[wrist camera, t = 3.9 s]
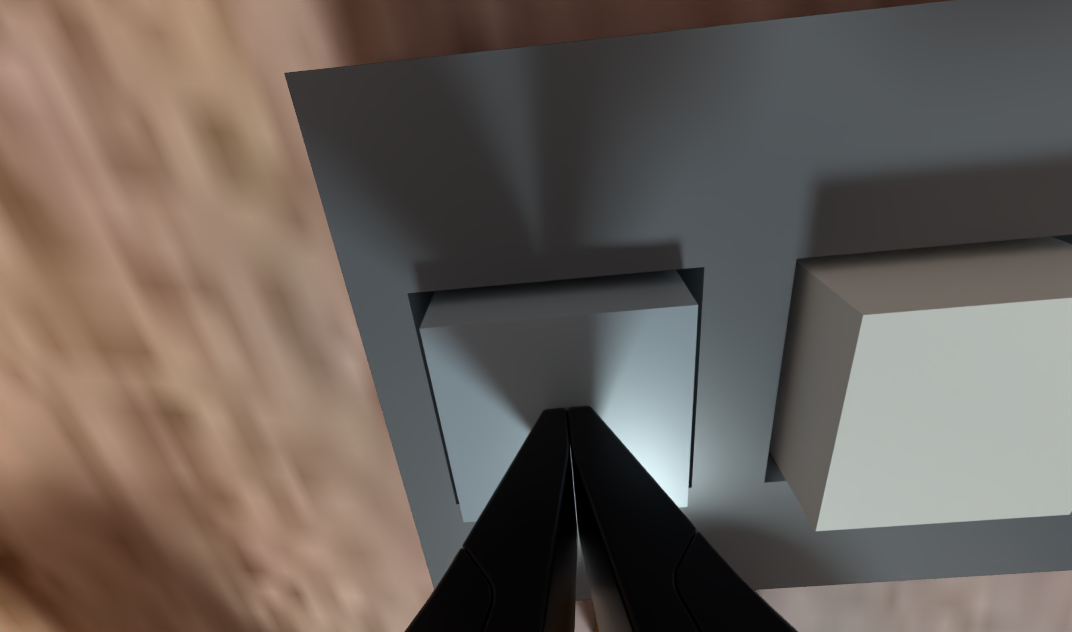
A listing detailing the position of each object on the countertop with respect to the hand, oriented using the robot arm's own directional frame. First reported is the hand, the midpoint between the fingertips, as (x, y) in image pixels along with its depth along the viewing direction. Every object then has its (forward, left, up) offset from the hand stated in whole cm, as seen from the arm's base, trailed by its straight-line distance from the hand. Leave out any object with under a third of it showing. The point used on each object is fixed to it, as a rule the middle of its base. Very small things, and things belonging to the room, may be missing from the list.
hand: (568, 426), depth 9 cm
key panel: (-7, 0, -5) cm, 8 cm away
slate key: (0, 0, -4) cm, 4 cm away
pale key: (-7, 0, -3) cm, 7 cm away
